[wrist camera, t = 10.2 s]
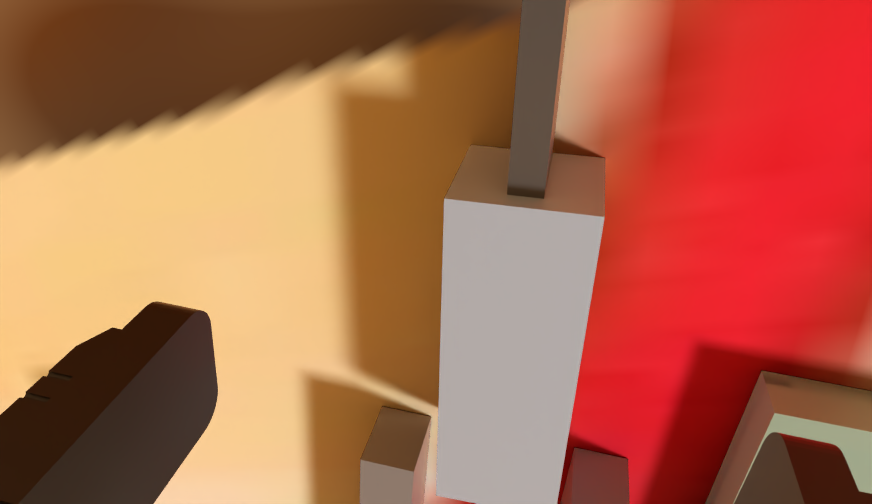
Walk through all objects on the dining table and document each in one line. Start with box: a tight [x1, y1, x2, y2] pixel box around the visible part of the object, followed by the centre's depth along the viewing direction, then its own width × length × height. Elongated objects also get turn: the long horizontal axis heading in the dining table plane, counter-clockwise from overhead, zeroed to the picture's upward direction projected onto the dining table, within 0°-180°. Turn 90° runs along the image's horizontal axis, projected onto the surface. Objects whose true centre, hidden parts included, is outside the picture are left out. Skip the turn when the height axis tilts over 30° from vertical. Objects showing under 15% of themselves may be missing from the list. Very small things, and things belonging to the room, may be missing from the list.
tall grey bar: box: [436, 0, 605, 504], centre depth 24 cm, size 22×5×5 cm, turn 179°
